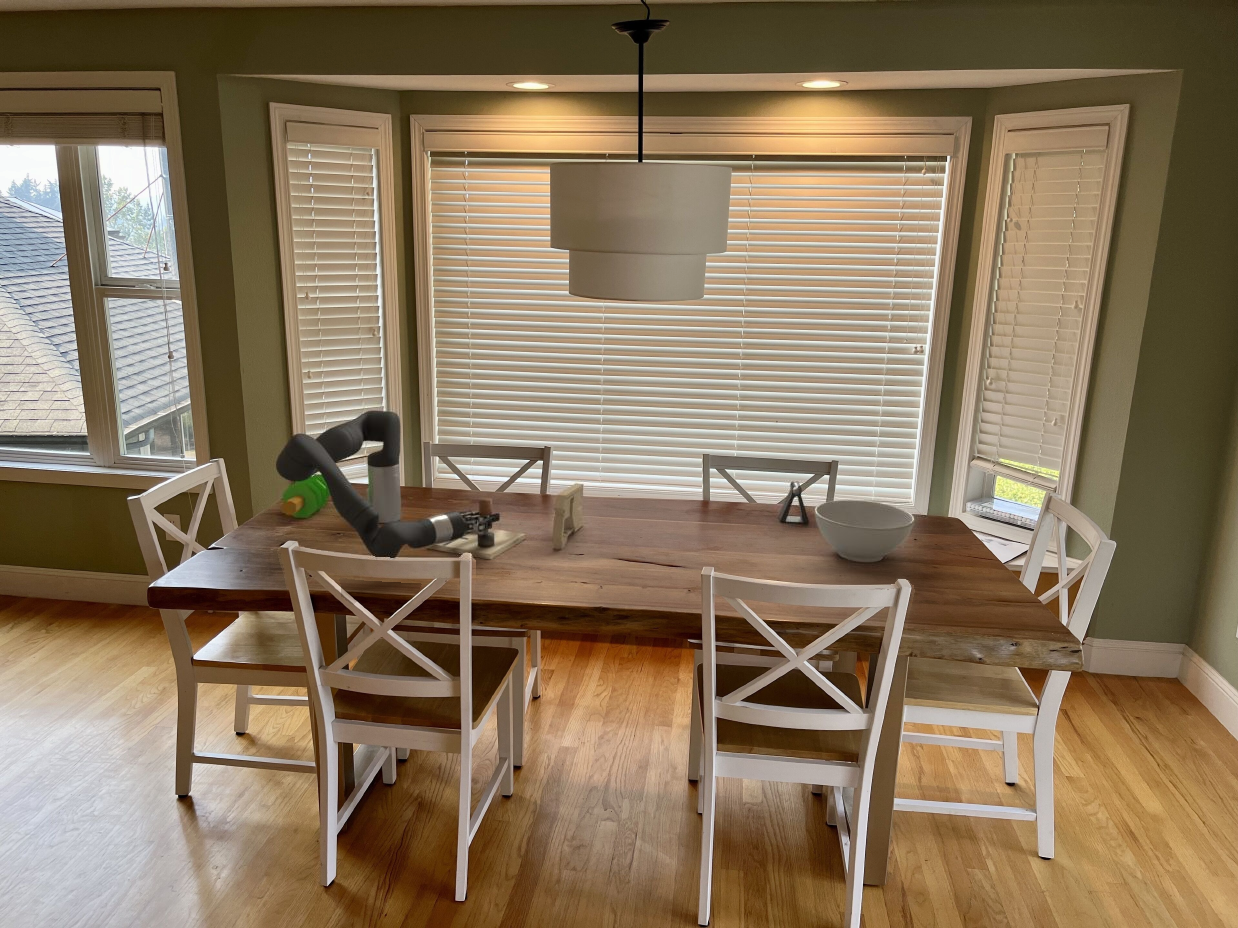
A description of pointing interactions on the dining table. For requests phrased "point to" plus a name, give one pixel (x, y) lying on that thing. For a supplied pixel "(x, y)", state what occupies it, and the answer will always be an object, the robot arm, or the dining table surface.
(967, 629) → the dining table surface
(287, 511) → the decorative tree
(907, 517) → the decorative bowl
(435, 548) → the subfloor panel
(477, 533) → the block
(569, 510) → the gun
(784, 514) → the phone stand
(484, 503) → the wooden handled stamp
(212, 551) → the dining table surface
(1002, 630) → the dining table surface
